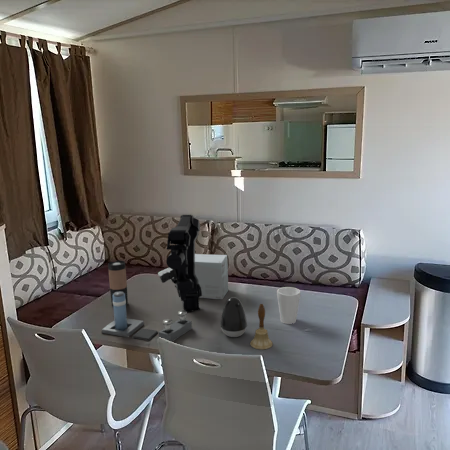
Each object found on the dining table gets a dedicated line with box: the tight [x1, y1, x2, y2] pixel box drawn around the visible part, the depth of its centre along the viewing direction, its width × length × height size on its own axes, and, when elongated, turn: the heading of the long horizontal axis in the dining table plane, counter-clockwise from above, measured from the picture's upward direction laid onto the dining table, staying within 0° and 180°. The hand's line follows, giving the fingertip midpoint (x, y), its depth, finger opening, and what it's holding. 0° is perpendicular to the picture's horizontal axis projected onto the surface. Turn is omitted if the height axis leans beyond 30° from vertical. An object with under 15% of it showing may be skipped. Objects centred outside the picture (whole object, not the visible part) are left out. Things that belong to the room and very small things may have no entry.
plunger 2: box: [177, 310, 188, 324], centre depth 180 cm, size 4×4×4 cm
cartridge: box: [112, 292, 128, 331], centre depth 180 cm, size 5×5×16 cm
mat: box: [132, 327, 159, 341], centre depth 177 cm, size 7×7×1 cm
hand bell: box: [249, 303, 273, 351], centre depth 166 cm, size 8×8×16 cm
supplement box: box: [195, 253, 229, 300], centre depth 217 cm, size 17×13×18 cm
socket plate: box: [101, 318, 145, 338], centre depth 183 cm, size 12×12×2 cm
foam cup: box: [276, 286, 301, 325], centre depth 186 cm, size 10×9×13 cm
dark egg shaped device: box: [220, 296, 248, 338], centre depth 175 cm, size 10×10×15 cm
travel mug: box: [107, 260, 129, 307], centre depth 205 cm, size 8×8×20 cm
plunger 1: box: [162, 318, 173, 333], centre depth 173 cm, size 4×4×4 cm
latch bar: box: [157, 319, 193, 342], centre depth 177 cm, size 14×5×3 cm, turn 148°
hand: (181, 298), depth 178 cm, fingers open, 4 cm apart
